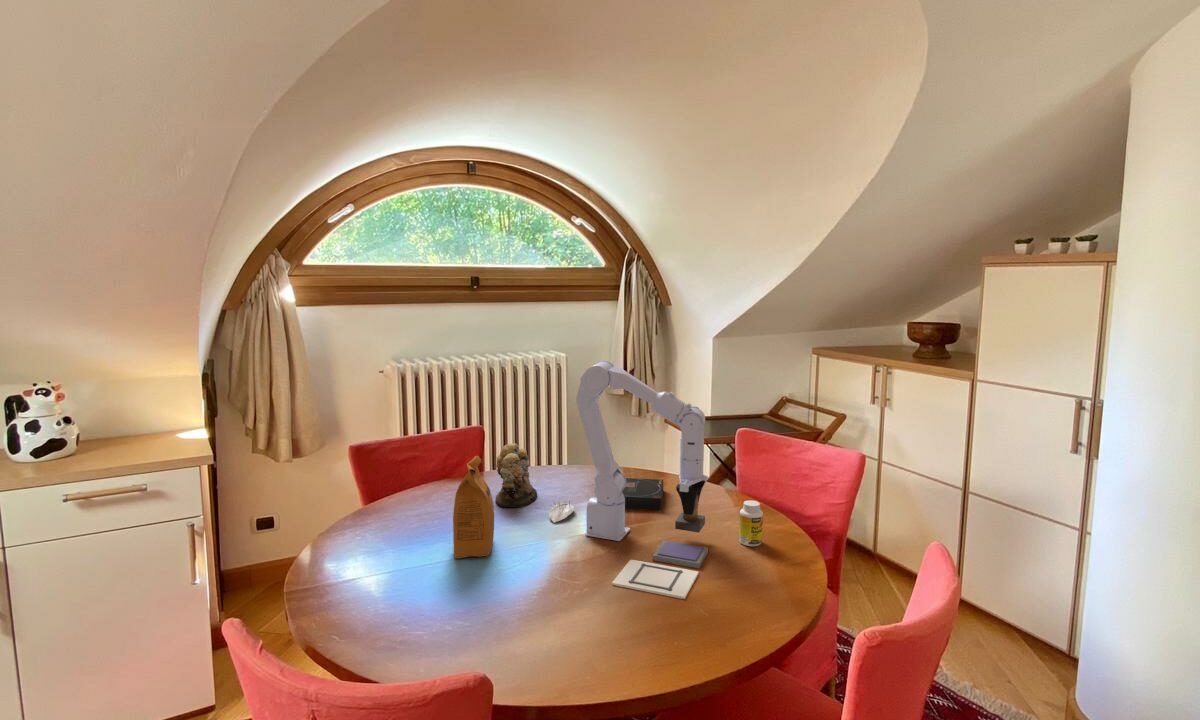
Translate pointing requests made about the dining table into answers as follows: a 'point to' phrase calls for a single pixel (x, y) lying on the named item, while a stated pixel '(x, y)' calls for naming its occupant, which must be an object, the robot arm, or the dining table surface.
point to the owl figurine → (514, 477)
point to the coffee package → (473, 515)
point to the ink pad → (680, 554)
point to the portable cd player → (643, 493)
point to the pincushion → (560, 511)
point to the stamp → (690, 520)
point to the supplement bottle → (751, 524)
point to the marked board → (656, 578)
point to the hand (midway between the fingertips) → (690, 510)
